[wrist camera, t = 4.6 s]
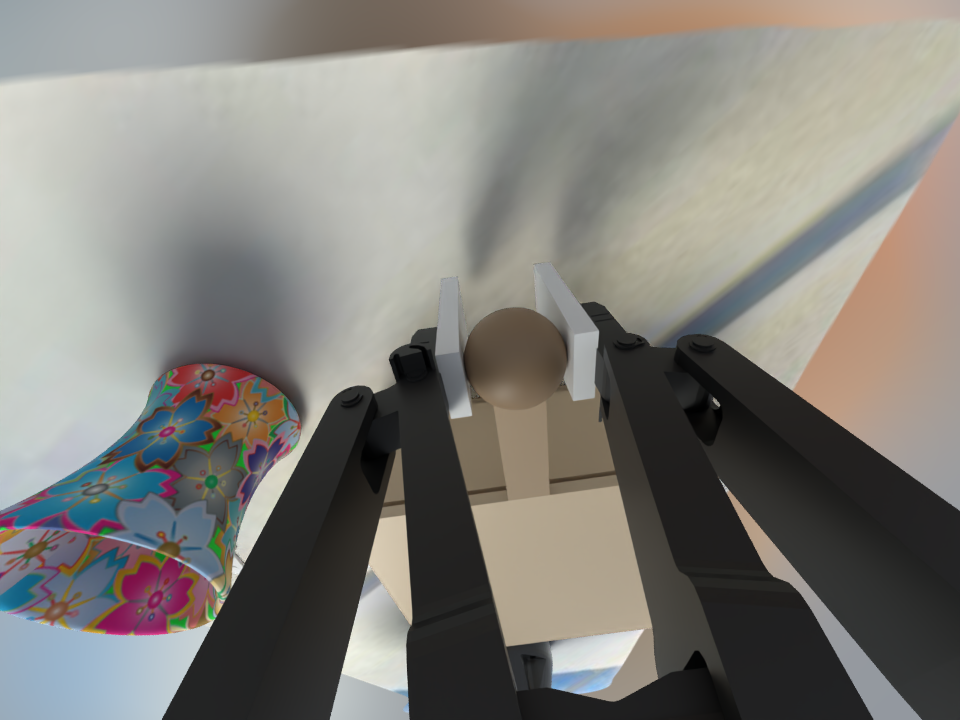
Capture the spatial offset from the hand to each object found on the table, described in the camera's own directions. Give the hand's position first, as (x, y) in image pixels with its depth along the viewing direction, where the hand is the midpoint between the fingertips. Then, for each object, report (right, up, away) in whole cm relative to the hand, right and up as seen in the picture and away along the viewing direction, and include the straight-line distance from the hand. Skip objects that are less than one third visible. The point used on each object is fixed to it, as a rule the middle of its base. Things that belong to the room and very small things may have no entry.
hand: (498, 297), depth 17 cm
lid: (+2, -13, +5) cm, 14 cm away
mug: (-18, -6, +6) cm, 20 cm away
